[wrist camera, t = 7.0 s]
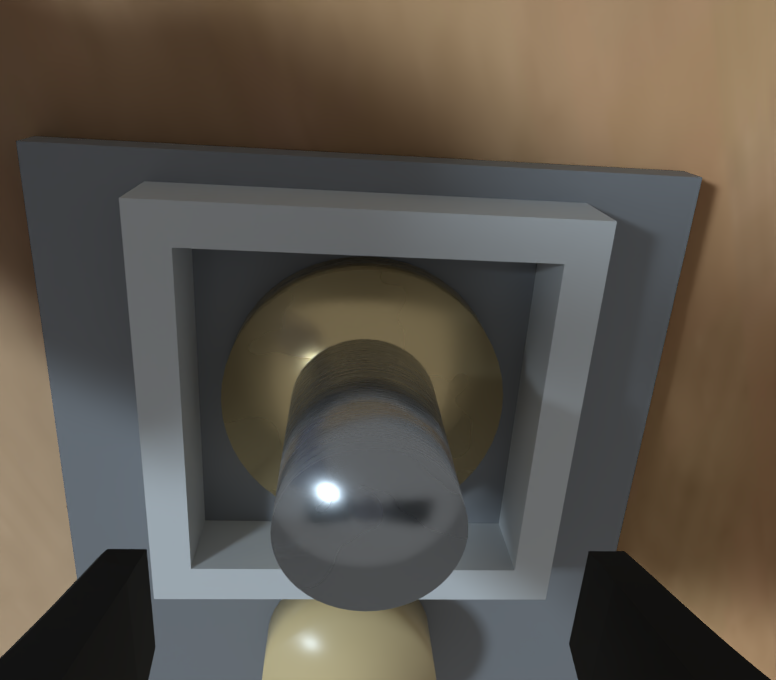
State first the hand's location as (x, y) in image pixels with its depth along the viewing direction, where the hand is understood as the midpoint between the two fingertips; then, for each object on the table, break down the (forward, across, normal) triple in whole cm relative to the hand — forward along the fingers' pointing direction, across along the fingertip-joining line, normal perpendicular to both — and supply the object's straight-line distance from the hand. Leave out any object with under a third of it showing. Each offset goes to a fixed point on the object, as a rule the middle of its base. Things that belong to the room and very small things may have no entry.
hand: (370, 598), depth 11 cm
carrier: (+9, 0, +3) cm, 9 cm away
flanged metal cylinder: (+8, 0, 0) cm, 8 cm away
